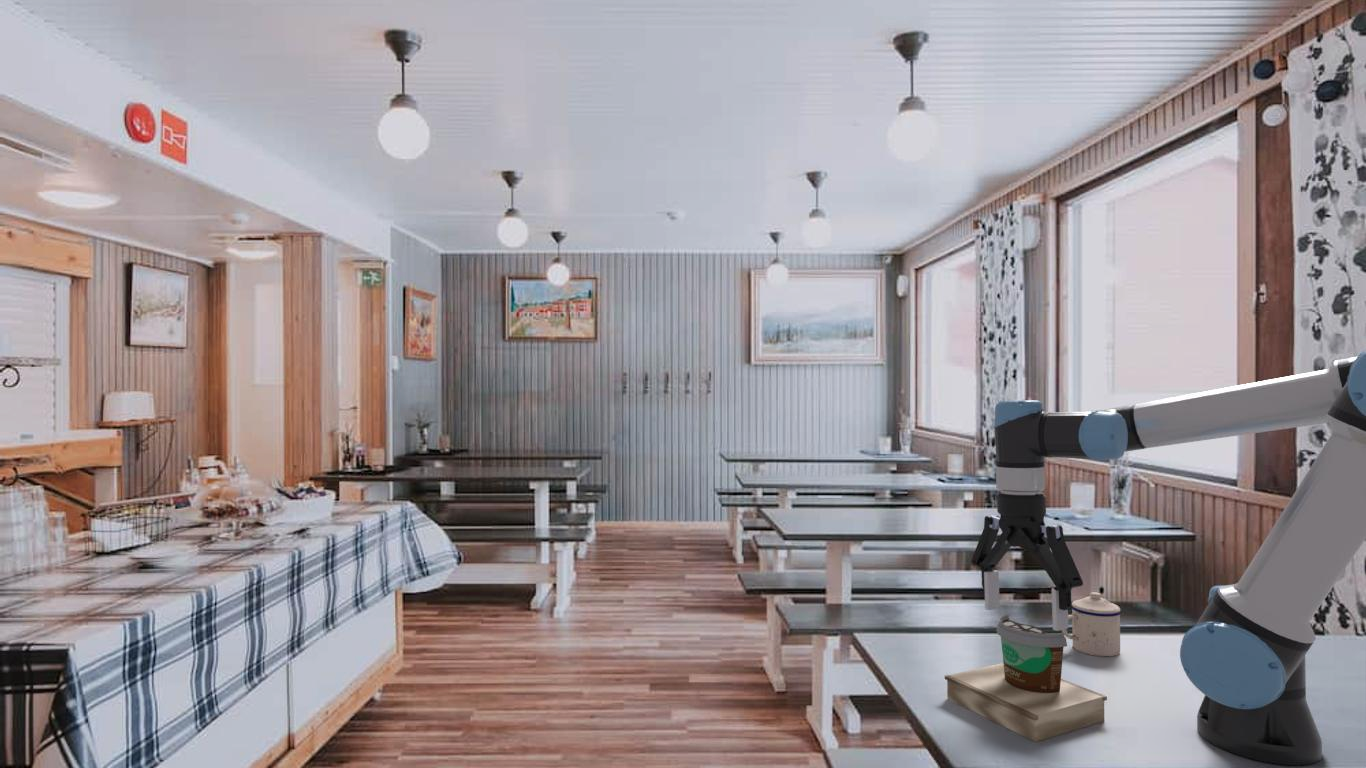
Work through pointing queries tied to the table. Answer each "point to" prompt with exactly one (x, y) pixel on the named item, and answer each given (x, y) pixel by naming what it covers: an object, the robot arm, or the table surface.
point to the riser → (1025, 703)
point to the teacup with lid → (1095, 626)
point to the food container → (1031, 656)
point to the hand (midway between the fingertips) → (1024, 618)
